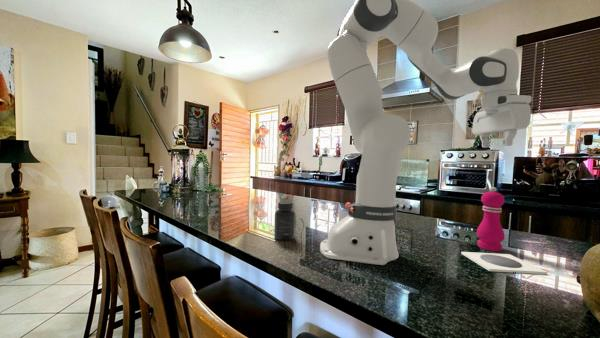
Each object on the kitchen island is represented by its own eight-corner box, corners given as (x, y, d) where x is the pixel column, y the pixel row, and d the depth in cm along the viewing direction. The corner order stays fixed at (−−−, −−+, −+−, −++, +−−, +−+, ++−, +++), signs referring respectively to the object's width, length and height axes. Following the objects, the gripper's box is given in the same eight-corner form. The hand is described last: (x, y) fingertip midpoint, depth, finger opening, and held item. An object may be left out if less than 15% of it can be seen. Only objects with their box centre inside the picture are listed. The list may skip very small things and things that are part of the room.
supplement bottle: (273, 235, 87) (274, 200, 86) (292, 234, 88) (294, 200, 88) (274, 241, 80) (276, 204, 80) (296, 241, 81) (297, 204, 81)
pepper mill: (508, 253, 77) (513, 188, 77) (482, 250, 79) (486, 187, 78) (495, 245, 85) (499, 186, 84) (471, 243, 86) (475, 185, 85)
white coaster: (489, 271, 63) (489, 268, 63) (461, 253, 75) (461, 251, 75) (547, 274, 63) (547, 271, 63) (509, 256, 75) (509, 253, 75)
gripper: (468, 109, 91) (466, 147, 91) (513, 94, 70) (510, 144, 71) (486, 110, 90) (483, 148, 91) (537, 95, 70) (533, 144, 70)
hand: (495, 146), depth 81 cm, fingers open, 8 cm apart
